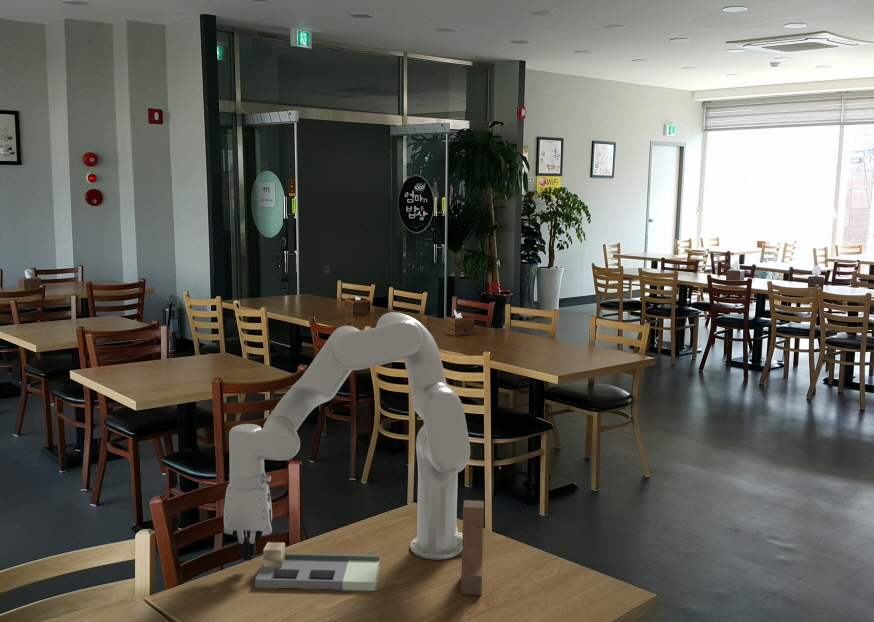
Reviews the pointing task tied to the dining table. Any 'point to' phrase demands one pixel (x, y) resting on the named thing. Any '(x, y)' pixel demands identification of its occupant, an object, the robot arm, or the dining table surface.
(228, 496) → the robot arm
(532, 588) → the dining table surface
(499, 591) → the dining table surface
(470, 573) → the wooden block
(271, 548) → the ash cube
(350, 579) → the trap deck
